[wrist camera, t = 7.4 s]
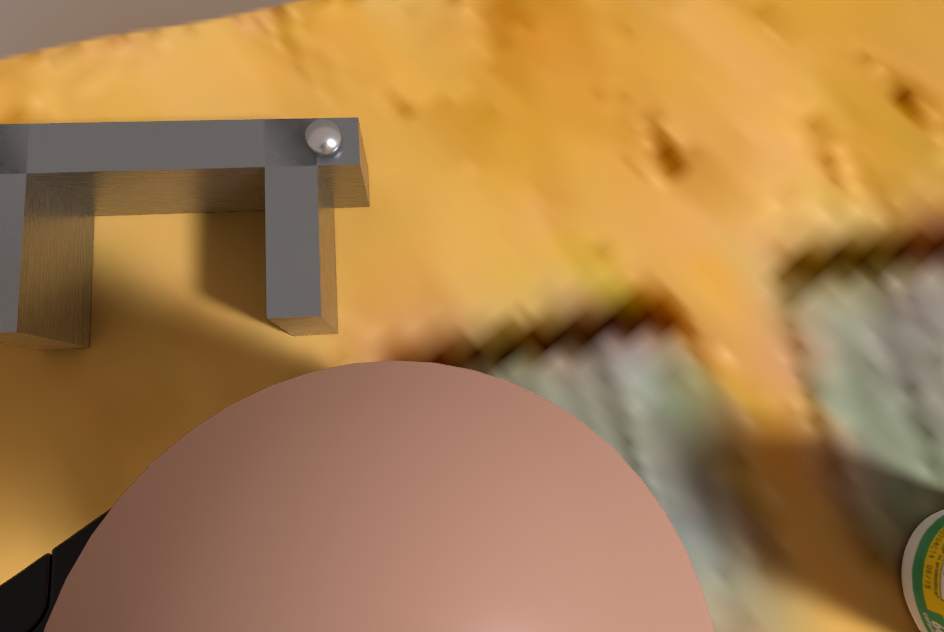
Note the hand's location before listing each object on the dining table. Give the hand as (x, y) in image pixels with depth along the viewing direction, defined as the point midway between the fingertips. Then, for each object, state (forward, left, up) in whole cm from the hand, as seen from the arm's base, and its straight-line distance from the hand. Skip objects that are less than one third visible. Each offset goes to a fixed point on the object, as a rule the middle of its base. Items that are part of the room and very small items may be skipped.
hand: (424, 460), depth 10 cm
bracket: (+7, +7, -10) cm, 14 cm away
